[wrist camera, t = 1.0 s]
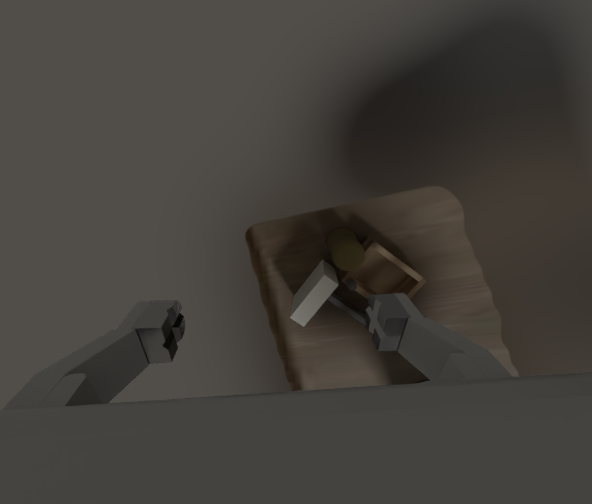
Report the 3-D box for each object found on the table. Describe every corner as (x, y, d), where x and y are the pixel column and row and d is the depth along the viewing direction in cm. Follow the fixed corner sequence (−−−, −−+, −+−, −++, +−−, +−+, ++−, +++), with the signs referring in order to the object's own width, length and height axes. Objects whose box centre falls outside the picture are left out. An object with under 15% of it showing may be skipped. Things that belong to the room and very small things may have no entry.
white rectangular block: (322, 259, 49) (324, 274, 40) (338, 270, 49) (343, 288, 40) (293, 295, 51) (289, 317, 43) (309, 306, 52) (308, 330, 43)
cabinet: (414, 270, 48) (432, 285, 41) (366, 322, 51) (375, 344, 44) (367, 235, 47) (377, 243, 40) (321, 291, 50) (322, 308, 43)
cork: (321, 250, 48) (323, 267, 38) (333, 222, 47) (339, 232, 36) (349, 261, 48) (359, 282, 38) (362, 234, 47) (376, 247, 36)
